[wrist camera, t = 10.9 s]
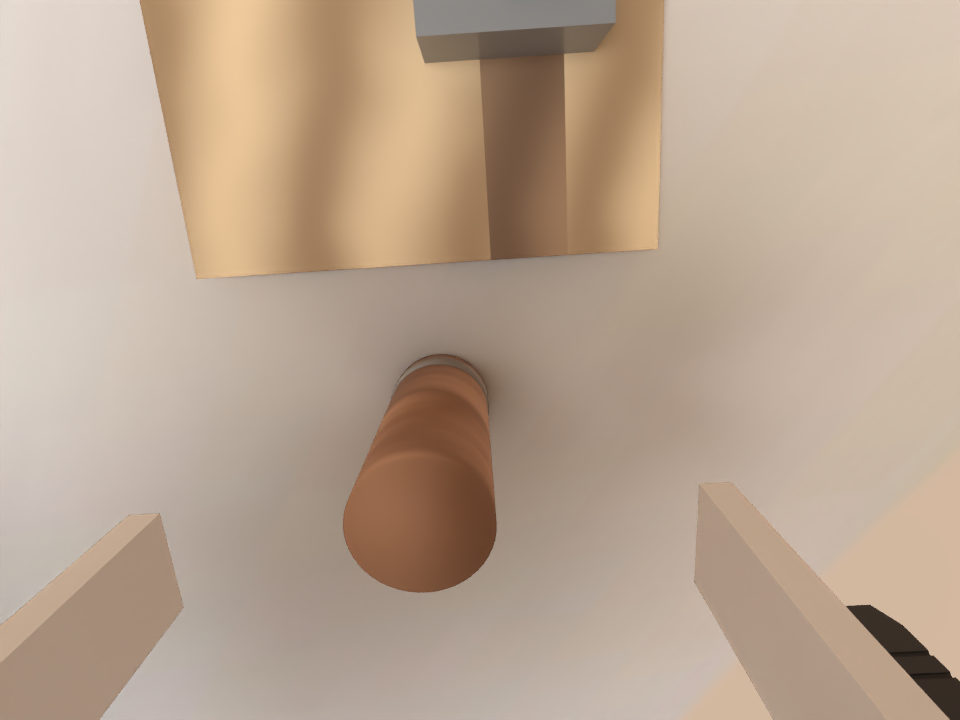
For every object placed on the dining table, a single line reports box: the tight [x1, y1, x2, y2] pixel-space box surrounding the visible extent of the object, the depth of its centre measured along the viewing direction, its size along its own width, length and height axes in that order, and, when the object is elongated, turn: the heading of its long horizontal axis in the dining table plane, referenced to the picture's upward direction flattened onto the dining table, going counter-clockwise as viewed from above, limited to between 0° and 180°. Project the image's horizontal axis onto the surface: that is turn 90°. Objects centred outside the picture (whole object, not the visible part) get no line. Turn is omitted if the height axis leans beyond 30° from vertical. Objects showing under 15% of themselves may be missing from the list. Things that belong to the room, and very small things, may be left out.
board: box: [140, 0, 664, 279], centre depth 19 cm, size 18×16×1 cm
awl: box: [343, 355, 496, 592], centre depth 19 cm, size 4×4×10 cm
